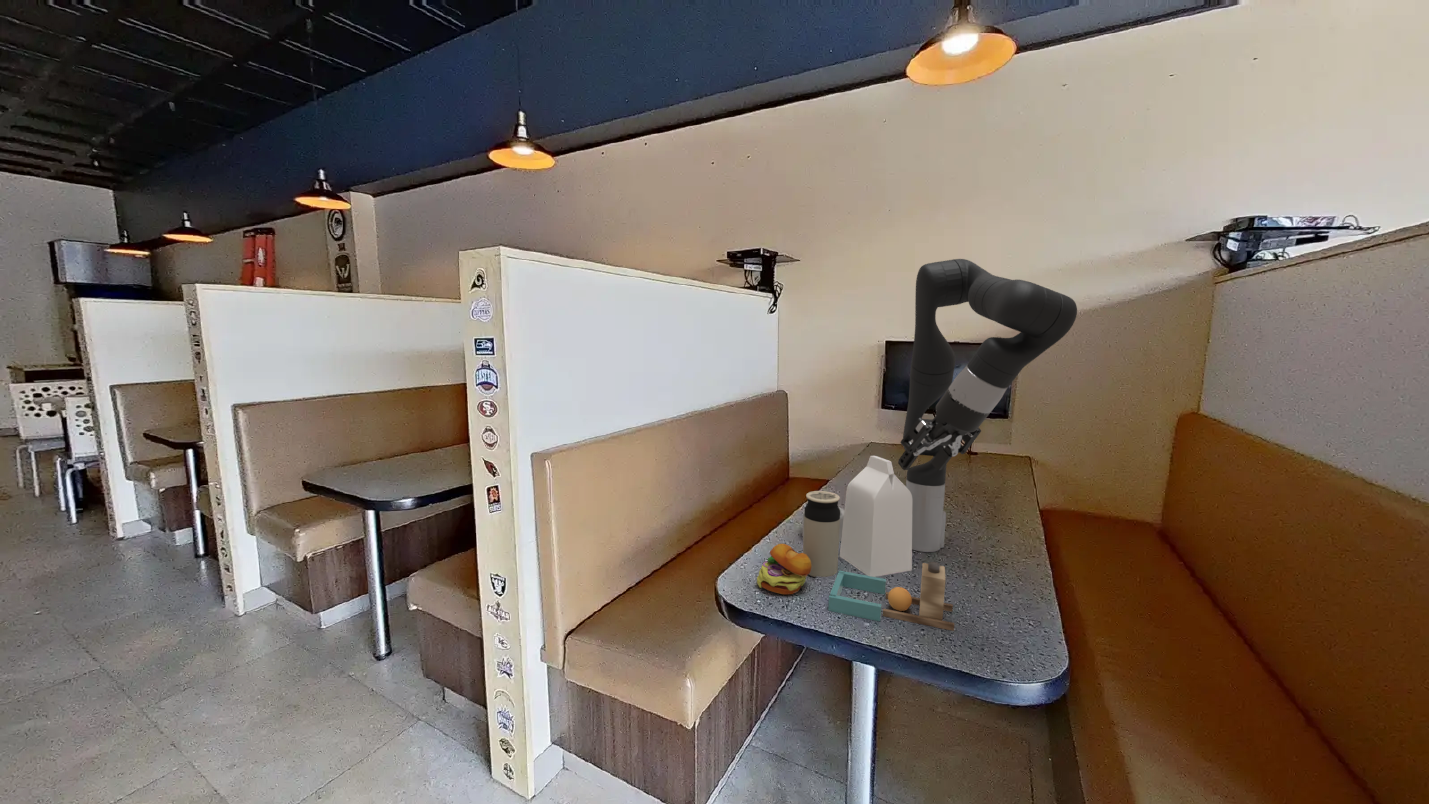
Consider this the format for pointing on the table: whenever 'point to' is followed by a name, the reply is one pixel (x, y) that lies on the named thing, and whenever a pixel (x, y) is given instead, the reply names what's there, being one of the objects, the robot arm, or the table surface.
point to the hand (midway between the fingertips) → (919, 466)
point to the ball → (899, 599)
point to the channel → (920, 619)
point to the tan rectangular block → (932, 591)
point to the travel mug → (822, 532)
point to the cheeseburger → (784, 570)
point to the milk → (877, 521)
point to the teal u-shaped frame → (854, 605)
